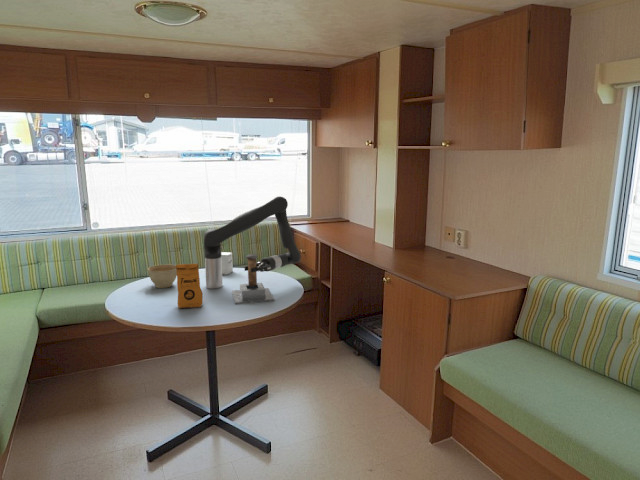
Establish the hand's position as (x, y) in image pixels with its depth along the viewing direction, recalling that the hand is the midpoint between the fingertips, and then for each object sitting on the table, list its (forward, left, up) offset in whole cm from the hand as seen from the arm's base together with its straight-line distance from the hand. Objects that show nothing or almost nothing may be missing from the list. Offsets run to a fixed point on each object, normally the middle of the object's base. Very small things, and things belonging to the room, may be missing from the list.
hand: (248, 269), depth 239 cm
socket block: (+2, +2, -15) cm, 16 cm away
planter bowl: (-45, +34, -16) cm, 58 cm away
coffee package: (-30, -5, -16) cm, 34 cm away
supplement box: (-9, +54, -16) cm, 57 cm away
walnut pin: (+2, +2, -9) cm, 9 cm away
